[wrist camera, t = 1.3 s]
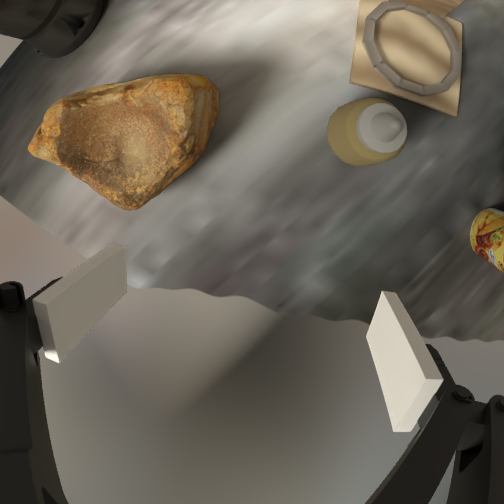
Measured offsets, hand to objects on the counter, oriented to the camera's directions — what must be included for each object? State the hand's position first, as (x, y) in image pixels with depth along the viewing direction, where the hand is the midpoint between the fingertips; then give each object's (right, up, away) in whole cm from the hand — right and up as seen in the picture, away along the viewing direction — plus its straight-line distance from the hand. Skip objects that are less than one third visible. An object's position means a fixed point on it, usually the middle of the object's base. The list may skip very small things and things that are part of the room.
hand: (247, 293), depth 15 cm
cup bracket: (+22, +30, +18) cm, 41 cm away
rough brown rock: (-14, +17, +27) cm, 35 cm away
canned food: (+37, +5, +24) cm, 44 cm away
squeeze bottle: (+14, +17, +23) cm, 32 cm away
